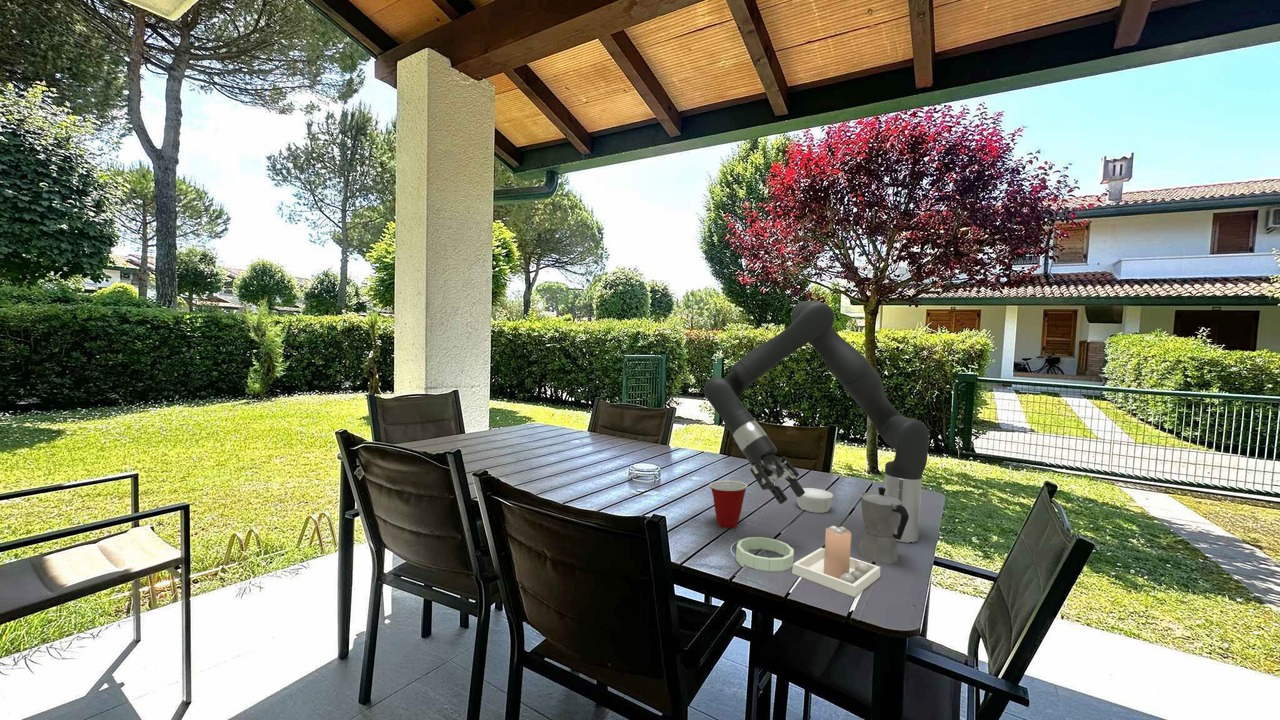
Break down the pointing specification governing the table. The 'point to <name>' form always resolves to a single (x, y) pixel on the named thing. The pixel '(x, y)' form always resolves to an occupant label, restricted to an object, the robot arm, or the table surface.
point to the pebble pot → (837, 551)
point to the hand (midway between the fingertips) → (793, 498)
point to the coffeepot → (881, 527)
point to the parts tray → (819, 577)
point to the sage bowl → (762, 562)
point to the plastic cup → (728, 501)
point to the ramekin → (815, 500)
